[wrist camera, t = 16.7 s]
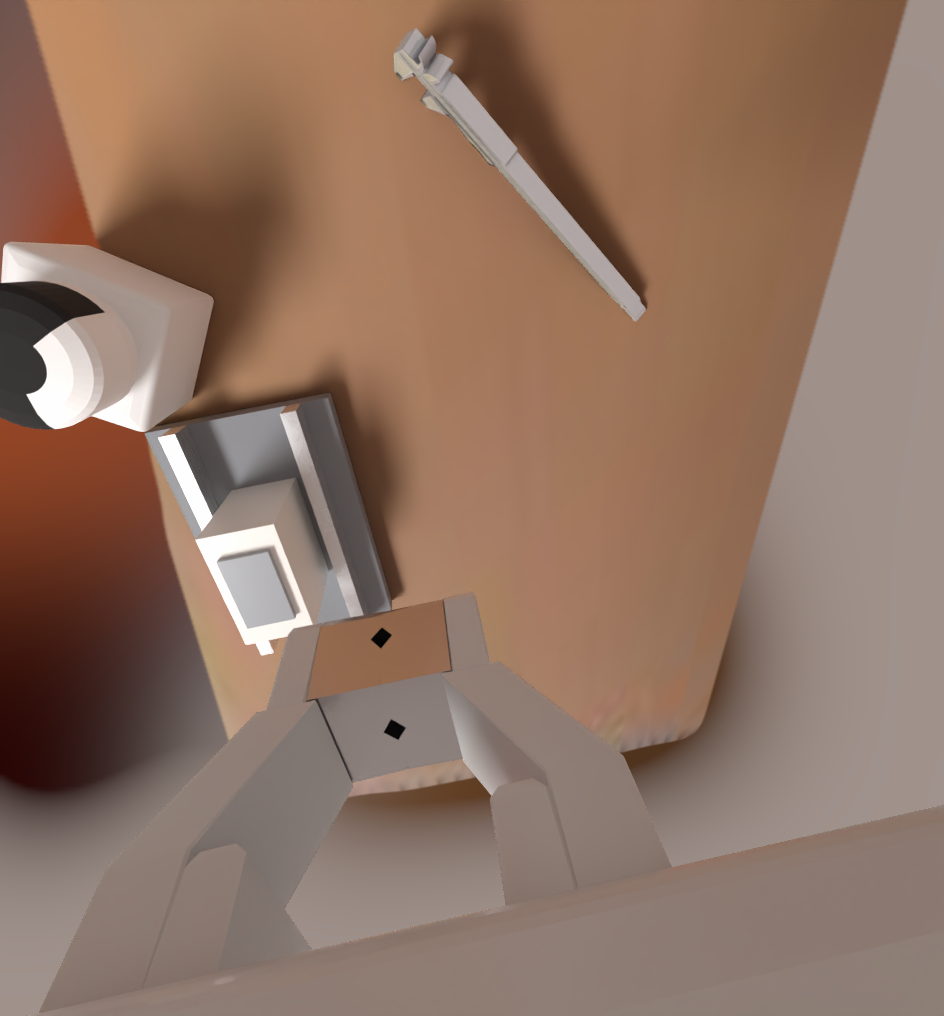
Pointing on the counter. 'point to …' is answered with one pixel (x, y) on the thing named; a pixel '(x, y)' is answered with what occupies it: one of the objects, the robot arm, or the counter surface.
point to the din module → (266, 560)
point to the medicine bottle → (94, 338)
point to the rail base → (269, 458)
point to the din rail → (298, 432)
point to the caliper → (505, 158)
